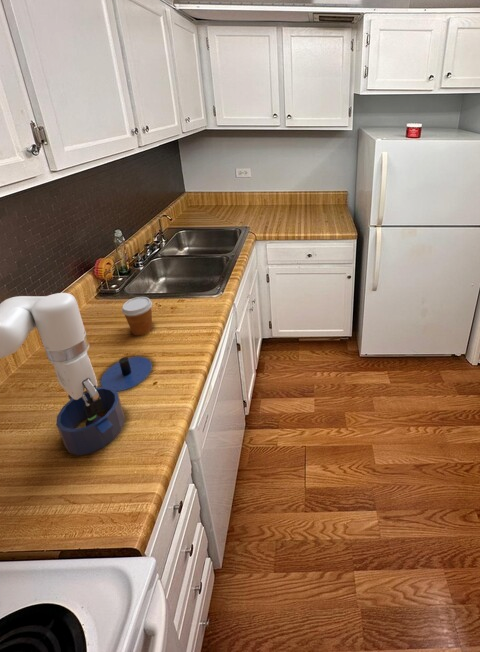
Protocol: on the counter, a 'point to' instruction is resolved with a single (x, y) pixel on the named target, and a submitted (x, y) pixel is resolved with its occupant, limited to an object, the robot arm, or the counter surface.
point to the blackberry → (92, 420)
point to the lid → (126, 373)
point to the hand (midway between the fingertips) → (86, 403)
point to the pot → (94, 433)
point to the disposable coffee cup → (138, 315)
